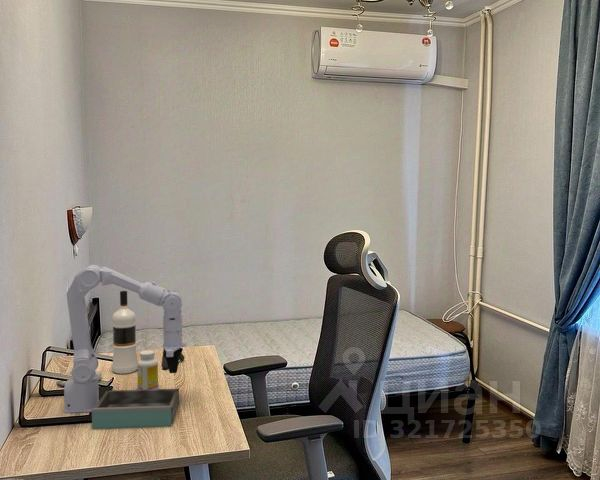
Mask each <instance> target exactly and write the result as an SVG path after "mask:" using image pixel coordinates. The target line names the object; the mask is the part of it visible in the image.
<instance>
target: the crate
mask: <svg viewBox="0 0 600 480" xmlns="http://www.w3.org/2000/svg"><path fill="white" fill-rule="evenodd" d="M99 400H100V401H99V402H98V403H97V405H96V406H95V408H109V407H142V406H171V425H173V423H174V421H175V418H176V416H177V415H176V414H177V412H178V409H179V406H180V389H179V388H162V389H161V388H160V389H159V388H158V389H149V390H138V389H123V390H122V389H118V390H115V389H114V390H106V391H105V392H104V394H103V395H102V396H101V397H100V398H99Z"/></svg>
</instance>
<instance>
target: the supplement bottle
mask: <svg viewBox="0 0 600 480" xmlns="http://www.w3.org/2000/svg"><path fill="white" fill-rule="evenodd" d="M139 357H140V359H138V360H137V370H136V372H137V390H149V389H159V362H158V359H157V358H155V351H154V350H151V349H149V350H142V351H140V353H139Z"/></svg>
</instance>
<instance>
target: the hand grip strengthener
mask: <svg viewBox="0 0 600 480" xmlns="http://www.w3.org/2000/svg"><path fill="white" fill-rule="evenodd" d="M182 337H183V334H182ZM164 351H165V349H164V348H163V350H162V353H163V352H164ZM184 360H185V356H184V354H183V352H182V353H181V355H180V358H179V362H180V361H181V362H184ZM161 368H162V370H165V371H167V370H169V368H168V364H167V361H166V359H165V357H164V355H163V354H162V358H161Z"/></svg>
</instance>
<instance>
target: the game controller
mask: <svg viewBox="0 0 600 480" xmlns="http://www.w3.org/2000/svg"><path fill="white" fill-rule="evenodd" d="M95 372H96V374H97V375H98V381H100V380H101V378H102V375H103V374H102V371H100V370H95ZM60 374H63V375H68V376H72V371H69V372H62V373H60ZM57 383H58V384H59V385H60V386H64V387H65V384H66V382H64V381H57Z"/></svg>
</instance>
